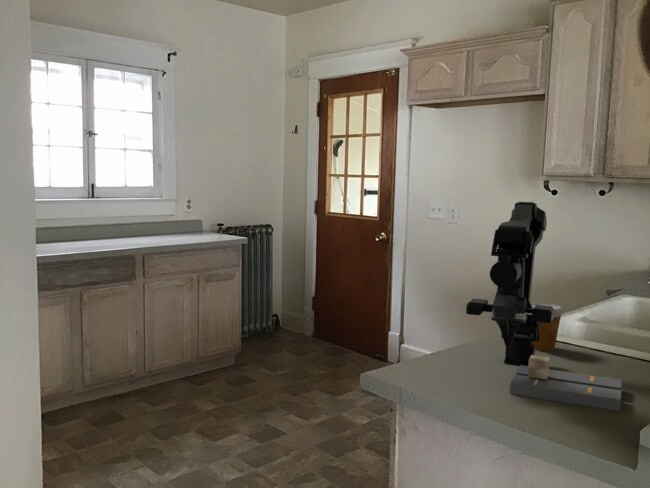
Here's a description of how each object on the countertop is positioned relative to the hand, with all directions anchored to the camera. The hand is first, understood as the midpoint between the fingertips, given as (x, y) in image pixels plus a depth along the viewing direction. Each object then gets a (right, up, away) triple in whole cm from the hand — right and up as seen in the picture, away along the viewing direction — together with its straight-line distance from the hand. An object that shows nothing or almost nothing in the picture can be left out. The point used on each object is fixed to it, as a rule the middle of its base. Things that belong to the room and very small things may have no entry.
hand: (507, 346), depth 142 cm
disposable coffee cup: (+18, -6, +29) cm, 35 cm away
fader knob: (+6, -9, -2) cm, 11 cm away
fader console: (+12, -9, -5) cm, 16 cm away
